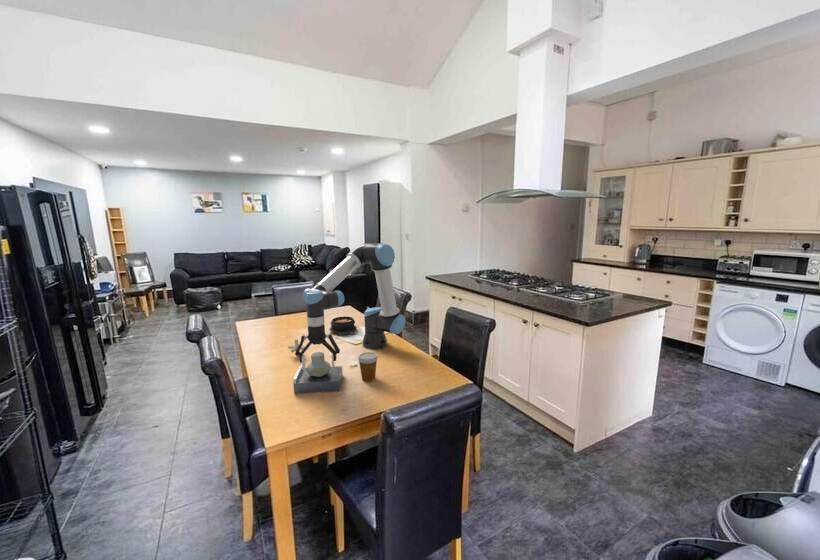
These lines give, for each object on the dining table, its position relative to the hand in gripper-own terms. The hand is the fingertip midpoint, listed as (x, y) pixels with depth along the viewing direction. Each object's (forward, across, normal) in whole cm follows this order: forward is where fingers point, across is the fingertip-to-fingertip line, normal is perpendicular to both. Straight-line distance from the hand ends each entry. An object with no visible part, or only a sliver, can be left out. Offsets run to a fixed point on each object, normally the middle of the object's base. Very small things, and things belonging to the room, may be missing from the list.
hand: (318, 368), depth 164 cm
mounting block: (+8, 0, 0) cm, 8 cm away
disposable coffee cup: (+8, +23, +3) cm, 25 cm away
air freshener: (+3, 0, 0) cm, 3 cm away
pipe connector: (+8, -18, +36) cm, 41 cm away
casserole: (+8, +4, +78) cm, 79 cm away
